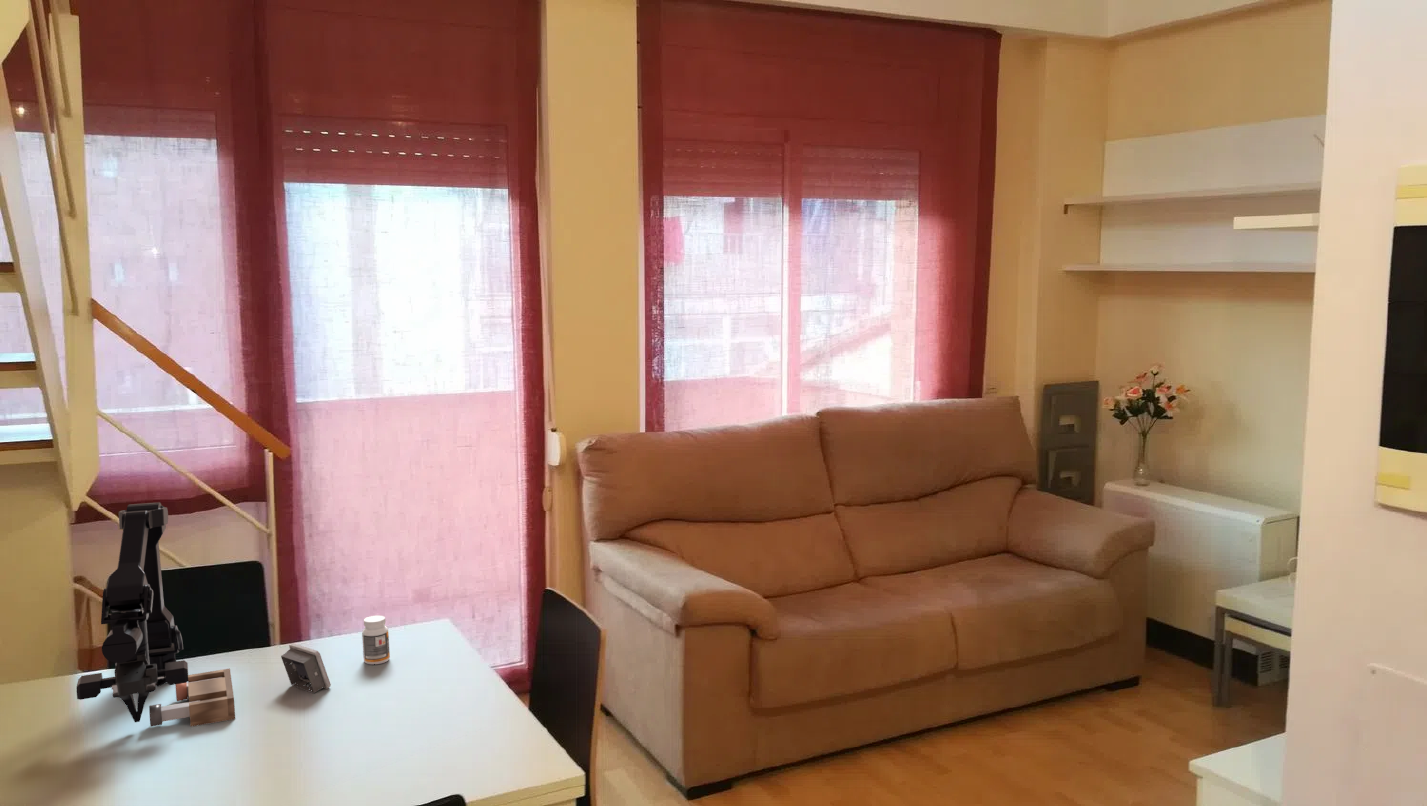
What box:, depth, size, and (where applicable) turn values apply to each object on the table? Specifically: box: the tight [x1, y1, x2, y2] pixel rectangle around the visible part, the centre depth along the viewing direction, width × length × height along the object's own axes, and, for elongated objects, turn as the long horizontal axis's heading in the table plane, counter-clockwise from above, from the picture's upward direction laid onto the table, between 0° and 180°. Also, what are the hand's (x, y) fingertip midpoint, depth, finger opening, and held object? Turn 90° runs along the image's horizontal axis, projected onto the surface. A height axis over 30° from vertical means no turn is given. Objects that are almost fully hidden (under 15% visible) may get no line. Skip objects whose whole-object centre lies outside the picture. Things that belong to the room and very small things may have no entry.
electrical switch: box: [280, 643, 332, 694], centre depth 225 cm, size 9×5×9 cm, turn 57°
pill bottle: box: [361, 615, 391, 666], centre depth 241 cm, size 6×6×10 cm
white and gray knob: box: [148, 700, 200, 728], centre depth 209 cm, size 9×4×4 cm, turn 117°
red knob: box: [174, 677, 222, 702], centre depth 221 cm, size 9×4×4 cm, turn 117°
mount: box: [187, 667, 236, 727], centre depth 217 cm, size 8×17×4 cm, turn 27°
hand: (137, 721), depth 206 cm, fingers closed
